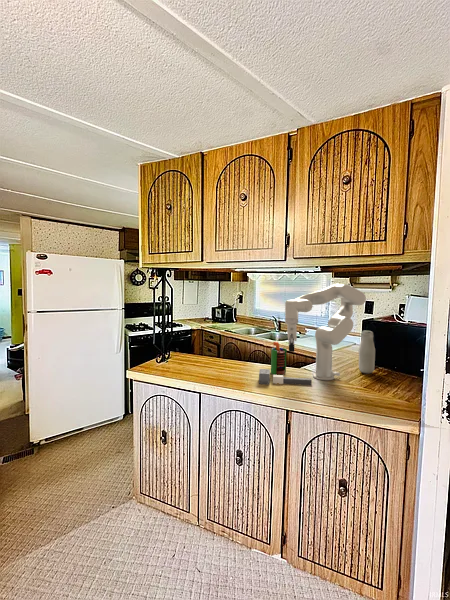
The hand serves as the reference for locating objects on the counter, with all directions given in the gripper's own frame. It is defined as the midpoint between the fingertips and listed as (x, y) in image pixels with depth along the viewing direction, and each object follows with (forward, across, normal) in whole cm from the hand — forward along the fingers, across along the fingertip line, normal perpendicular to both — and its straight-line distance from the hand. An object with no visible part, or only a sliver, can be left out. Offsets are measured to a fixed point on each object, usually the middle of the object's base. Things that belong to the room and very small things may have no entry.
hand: (291, 349), depth 196 cm
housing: (+19, -4, +16) cm, 25 cm away
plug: (+19, -4, 0) cm, 19 cm away
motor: (+19, +16, +9) cm, 27 cm away
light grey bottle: (+20, +29, -48) cm, 59 cm away
